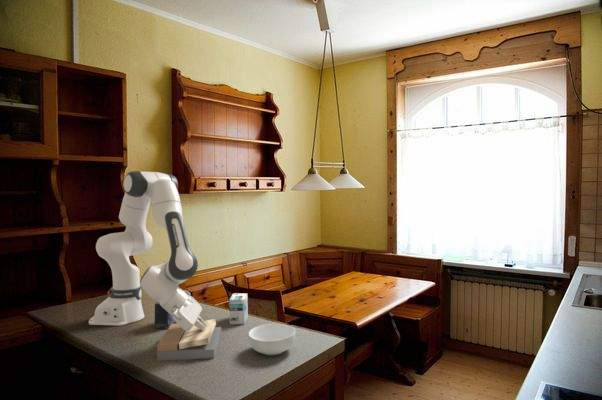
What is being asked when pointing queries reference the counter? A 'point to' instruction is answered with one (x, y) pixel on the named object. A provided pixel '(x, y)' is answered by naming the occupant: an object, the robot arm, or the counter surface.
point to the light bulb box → (238, 308)
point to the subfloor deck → (171, 350)
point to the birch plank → (198, 335)
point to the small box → (162, 317)
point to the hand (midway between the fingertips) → (204, 328)
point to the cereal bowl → (272, 338)
